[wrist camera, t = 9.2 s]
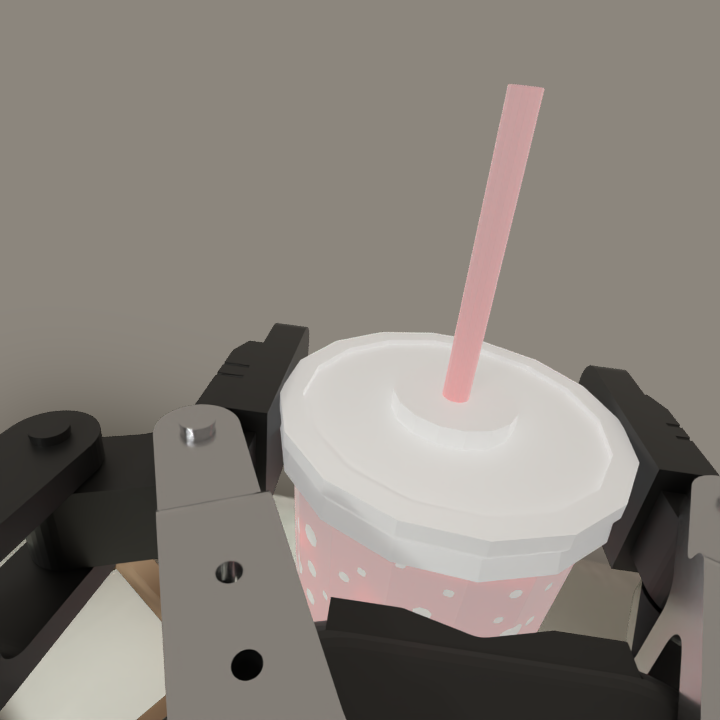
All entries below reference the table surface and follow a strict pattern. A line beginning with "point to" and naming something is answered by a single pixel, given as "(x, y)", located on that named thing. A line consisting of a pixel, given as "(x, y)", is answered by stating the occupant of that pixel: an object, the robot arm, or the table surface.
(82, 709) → the table surface
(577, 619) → the table surface
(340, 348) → the beverage cup
